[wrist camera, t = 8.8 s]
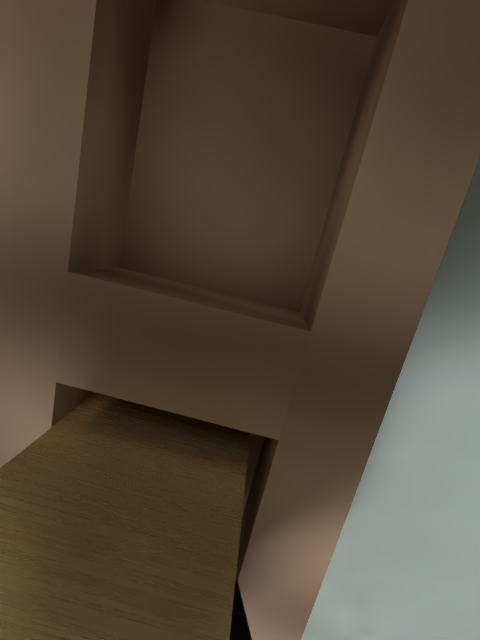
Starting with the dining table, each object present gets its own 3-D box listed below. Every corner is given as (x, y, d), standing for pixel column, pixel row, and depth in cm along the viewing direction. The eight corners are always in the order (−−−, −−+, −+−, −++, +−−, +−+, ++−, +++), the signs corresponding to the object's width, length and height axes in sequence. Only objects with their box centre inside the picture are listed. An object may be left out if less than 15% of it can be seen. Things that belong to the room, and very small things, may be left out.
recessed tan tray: (273, 561, 14) (276, 706, 9) (59, 502, 14) (-36, 614, 10) (439, 43, 9) (592, -146, 5) (121, -23, 10) (0, -252, 5)
